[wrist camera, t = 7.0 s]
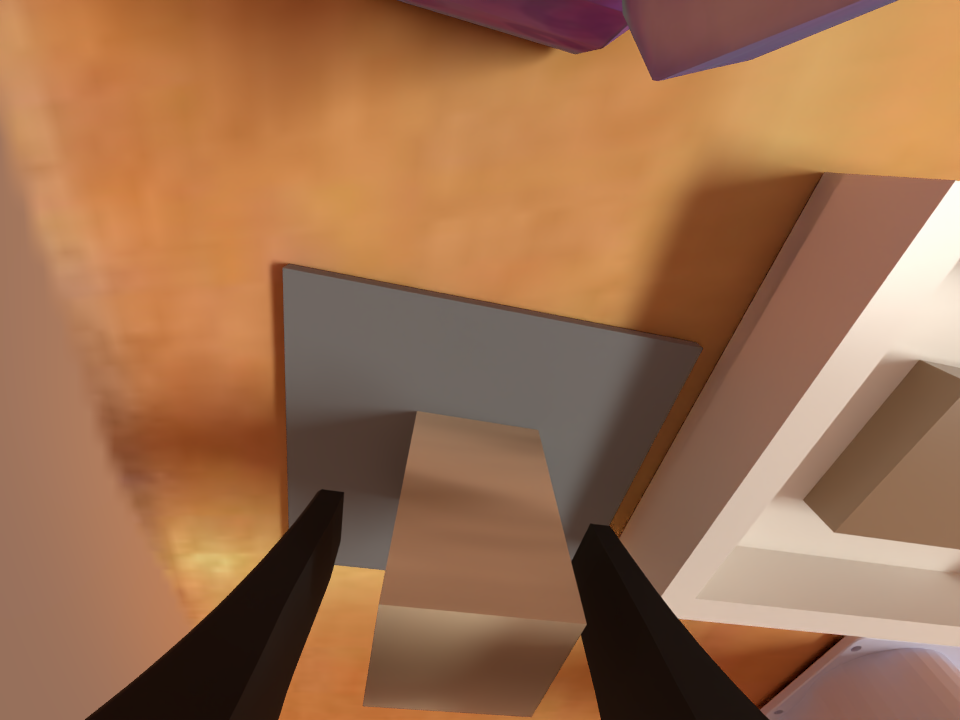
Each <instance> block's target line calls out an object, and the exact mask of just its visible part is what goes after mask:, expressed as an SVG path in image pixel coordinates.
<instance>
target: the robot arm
mask: <svg viewBox="0 0 960 720" xmlns="http://www.w3.org/2000/svg"><path fill="white" fill-rule="evenodd" d="M343 503H344V492H340V491H332V490H324V489H321V490H319V491H318V492H317V493H316V494H315V496H314V497H313V499H312V500H311V501H310V503H309V504H308V505H307V507H306V508H305V509H304V511H303V512H302V513H301V515H300V516H299V517H298V518H297V520H296V521H295V522H294V523H293V525H292V526H291V527H290V528H289V529H288V531H287V532H286V533H285V534H284V535H283V537H282V538H281V539H280V540H279V541H278V542H277V543H276V545H275V546H274V547H273V548H272V549H271V550H270V551H269V553H268V554H267V555H266V556H265V557H264V558H263V559H262V560H261V562H260V563H259V564H258V565H257V566H256V567H255V568H254V569H253V570H252V571H251V572H250V573H249V574H248V575H247V576H246V577H245V578H244V579H243V581H242V582H241V583H240V584H239V585H238V586H237V587H236V588H235V589H234V590H233V591H232V592H231V593H230V594H229V595H228V596H227V597H226V598H225V599H224V600H223V601H222V602H221V603H220V604H219V605H218V606H217V607H216V608H215V609H214V610H213V611H212V612H211V613H210V614H209V615H207V616H206V617H205V618H204V619H203V620H202V621H201V622H200V623H199V624H198V625H197V626H196V627H195V628H193V629H192V630H191V631H190V632H189V633H188V634H187V635H186V636H185V637H184V638H182V639H181V640H180V641H179V642H178V643H177V644H176V645H175V646H173V647H172V648H171V649H170V650H169V651H168V652H167V653H166V654H164V655H163V656H162V657H161V658H160V659H159V660H158V661H156V662H155V663H154V664H153V665H152V666H150V667H149V668H148V669H147V670H146V671H145V672H143V673H142V674H141V675H140V676H139V677H138V678H136V679H135V680H134V681H133V682H131V683H130V684H129V685H128V686H127V687H125V688H124V689H123V690H121V691H120V692H119V693H118V694H117V695H115V696H114V697H113V698H111V699H110V700H109V701H108V702H106V703H105V704H104V705H103V706H102V707H100V708H99V709H98V710H97V711H95V712H94V713H93V714H91V715H90V716H89V717H88V718H86V719H85V720H278V719H279V716H280V713H281V709H282V706H283V703H284V700H285V696H286V693H287V690H288V688H289V685H290V682H291V679H292V676H293V673H294V671H295V668H296V666H297V663H298V660H299V658H300V655H301V653H302V650H303V648H304V645H305V643H306V640H307V637H308V635H309V632H310V630H311V627H312V625H313V622H314V619H315V617H316V614H317V612H318V609H319V607H320V604H321V601H322V599H323V596H324V594H325V591H326V589H327V586H328V583H329V581H330V578H331V574H332V571H333V567H334V564H335V560H336V557H337V553H338V549H339V546H340V542H341V532H342V518H343ZM571 563H572V567H573V571H574V575H575V579H576V583H577V587H578V591H579V595H580V599H581V603H582V607H583V611H584V615H585V619H586V623H587V625H586V627H585V628H584V630H583V632H582V633H581V637H582V641H583V645H584V649H585V653H586V657H587V661H588V665H589V669H590V673H591V677H592V681H593V685H594V690H595V694H596V698H597V703H598V708H599V712H600V717H601V720H960V647H958V646H948V645H938V644H928V643H918V642H908V641H898V640H888V639H877V638H867V637H857V636H847V635H846V636H845V637H844V638H842V639H841V640H840V641H839V642H838V643H837V644H835V645H834V646H833V647H832V648H831V649H830V650H829V651H827V652H826V653H825V654H824V655H823V656H822V657H820V658H819V659H818V660H817V661H816V662H815V663H813V664H812V665H811V666H810V667H809V668H808V669H806V670H805V671H804V672H803V673H802V674H801V675H799V676H798V677H797V678H796V679H795V680H794V681H792V682H791V683H790V684H789V685H788V686H787V687H786V688H784V689H783V690H782V691H781V692H780V693H779V694H777V695H776V696H775V697H774V698H773V699H772V700H770V701H769V702H768V703H767V704H766V705H765V706H763V707H762V708H761V709H760V710H759V709H758V708H757V707H756V706H755V705H754V704H753V703H752V702H751V701H750V700H749V699H748V698H747V697H746V695H745V694H744V693H743V692H742V691H741V690H740V689H739V688H738V687H737V686H736V685H735V684H734V683H733V682H732V681H731V680H730V678H729V677H728V676H727V675H726V674H725V673H724V672H723V671H722V670H721V668H720V667H719V666H718V665H717V664H716V663H715V662H714V661H713V660H712V659H711V657H710V656H709V655H708V654H707V653H706V652H705V651H704V649H703V648H702V647H701V646H700V645H699V644H698V642H697V641H696V640H695V639H694V637H693V636H692V635H691V634H690V633H689V631H688V630H687V629H686V628H685V626H684V625H683V624H682V623H681V622H680V620H679V619H678V618H677V617H676V615H675V614H674V613H673V612H672V610H671V609H670V608H669V606H668V605H667V604H666V603H665V601H664V600H663V599H662V597H661V596H660V595H659V593H658V592H657V591H656V589H655V588H654V587H653V585H652V584H651V583H650V581H649V580H648V579H647V577H646V576H645V574H644V573H643V572H642V570H641V569H640V568H639V566H638V565H637V563H636V562H635V561H634V559H633V558H632V556H631V555H630V554H629V552H628V551H627V549H626V548H625V547H624V545H623V544H622V542H621V541H620V540H619V538H618V537H617V535H616V534H615V533H614V531H613V530H612V529H611V527H610V526H606V525H599V524H591V523H590V525H589V527H588V529H587V531H586V533H585V535H584V537H583V539H582V541H581V543H580V545H579V547H578V549H577V551H576V553H575V555H574V557H573V559H572V561H571Z"/></svg>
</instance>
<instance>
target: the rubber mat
mask: <svg viewBox="0 0 960 720" xmlns="http://www.w3.org/2000/svg"><path fill="white" fill-rule="evenodd" d="M283 304H284V346H285V389H286V431H287V474H288V516H289V528H290V527H291V526H292V525H293V523H294V522H295V521H296V520H297V518H298V517H299V516H300V515H301V513H302V512H303V511H304V509H305V508H306V507H307V505H308V504H309V503H310V501H311V500H312V499H313V497H314V496H315V494H316V493H317V492H318V491H319V490H321V489H324V490H332V491H340V492H344V503H343V518H342V532H341V542H340V546H339V549H338V553H337V557H336V560H335V564H334V565H341V566H350V567H360V568H369V569H379V570H386V565H387V560H388V555H389V550H390V545H391V540H392V535H393V530H394V525H395V520H396V515H397V510H398V505H399V500H400V495H401V489H402V484H403V479H404V474H405V469H406V464H407V459H408V454H409V449H410V444H411V439H412V434H413V429H414V424H415V419H416V414H417V411H421V412H427V413H433V414H440V415H446V416H452V417H459V418H465V419H471V420H478V421H484V422H490V423H497V424H503V425H510V426H516V427H522V428H529V429H535V430H538V431H539V435H540V439H541V443H542V447H543V451H544V455H545V459H546V463H547V467H548V471H549V475H550V479H551V483H552V487H553V491H554V495H555V499H556V503H557V507H558V511H559V515H560V519H561V523H562V527H563V531H564V535H565V539H566V543H567V547H568V551H569V555H570V559H571V561H572V559H573V557H574V555H575V553H576V551H577V549H578V547H579V545H580V543H581V541H582V539H583V537H584V535H585V533H586V531H587V529H588V527H589V525H590V523H591V524H599V525H606V526H609V525H610V523H611V521H612V519H613V517H614V515H615V513H616V511H617V510H618V508H619V506H620V504H621V502H622V500H623V498H624V496H625V495H626V493H627V491H628V489H629V487H630V485H631V483H632V481H633V479H634V478H635V476H636V474H637V472H638V470H639V468H640V466H641V464H642V462H643V461H644V459H645V457H646V455H647V453H648V451H649V449H650V447H651V446H652V444H653V442H654V440H655V438H656V436H657V434H658V432H659V430H660V429H661V427H662V425H663V423H664V421H665V419H666V417H667V415H668V413H669V412H670V410H671V408H672V406H673V404H674V402H675V400H676V398H677V397H678V395H679V393H680V391H681V389H682V387H683V385H684V383H685V381H686V380H687V378H688V376H689V374H690V372H691V370H692V368H693V366H694V364H695V363H696V361H697V359H698V357H699V355H700V353H701V351H702V349H703V348H702V347H701V346H700V345H699V344H698V343H696V342H692V341H686V340H681V339H676V338H671V337H666V336H660V335H655V334H650V333H645V332H640V331H635V330H629V329H624V328H619V327H614V326H609V325H603V324H598V323H593V322H588V321H583V320H578V319H572V318H567V317H562V316H557V315H552V314H546V313H541V312H536V311H531V310H526V309H520V308H515V307H510V306H505V305H500V304H495V303H489V302H484V301H479V300H474V299H469V298H463V297H458V296H453V295H448V294H443V293H438V292H432V291H427V290H422V289H417V288H412V287H406V286H401V285H396V284H391V283H386V282H381V281H375V280H370V279H365V278H360V277H355V276H349V275H344V274H339V273H334V272H329V271H324V270H318V269H313V268H308V267H303V266H298V265H292V264H288V265H286V266H285V267H283Z"/></svg>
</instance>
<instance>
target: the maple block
mask: <svg viewBox="0 0 960 720" xmlns="http://www.w3.org/2000/svg"><path fill="white" fill-rule="evenodd" d="M586 625H587V623H586V619H585V615H584V611H583V607H582V603H581V599H580V595H579V591H578V587H577V583H576V579H575V575H574V571H573V567H572V563H571V559H570V555H569V551H568V547H567V543H566V539H565V535H564V531H563V527H562V523H561V519H560V515H559V511H558V507H557V503H556V499H555V495H554V491H553V487H552V483H551V479H550V475H549V471H548V467H547V463H546V459H545V455H544V451H543V447H542V443H541V439H540V435H539V431H538V430H535V429H529V428H522V427H516V426H510V425H503V424H497V423H490V422H484V421H478V420H471V419H465V418H459V417H452V416H446V415H440V414H433V413H427V412H421V411H417V414H416V419H415V424H414V429H413V434H412V439H411V444H410V449H409V454H408V459H407V464H406V469H405V474H404V479H403V484H402V489H401V495H400V500H399V505H398V510H397V515H396V520H395V525H394V530H393V535H392V540H391V545H390V550H389V555H388V560H387V565H386V570H385V575H384V581H383V586H382V591H381V596H380V601H379V606H378V613H377V619H376V625H375V632H374V638H373V644H372V651H371V657H370V663H369V670H368V676H367V682H366V689H365V695H364V702H363V706H368V707H383V708H399V709H414V710H429V711H445V712H460V713H476V714H491V715H507V716H522V717H532V715H533V714H534V712H535V710H536V708H537V707H538V705H539V703H540V702H541V700H542V698H543V697H544V695H545V693H546V692H547V690H548V688H549V687H550V685H551V683H552V682H553V680H554V678H555V677H556V675H557V673H558V672H559V670H560V668H561V667H562V665H563V663H564V662H565V660H566V658H567V657H568V655H569V653H570V652H571V650H572V648H573V647H574V645H575V643H576V642H577V640H578V638H579V637H580V635H581V633H582V632H583V630H584V628H585V627H586Z"/></svg>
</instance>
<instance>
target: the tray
mask: <svg viewBox="0 0 960 720" xmlns="http://www.w3.org/2000/svg"><path fill="white" fill-rule="evenodd" d="M619 540H620V541H621V542H622V544H623V545H624V547H625V548H626V549H627V551H628V552H629V554H630V555H631V556H632V558H633V559H634V561H635V562H636V563H637V565H638V566H639V568H640V569H641V570H642V572H643V573H644V574H645V576H646V577H647V579H648V580H649V581H650V583H651V584H652V585H653V587H654V588H655V589H656V591H657V592H658V593H659V595H660V596H661V597H662V599H663V600H664V601H665V603H666V604H667V605H668V606H669V608H670V609H671V610H672V612H673V613H674V614H675V615H676V617H677V618H678V619H687V620H697V621H707V622H717V623H727V624H737V625H747V626H757V627H767V628H777V629H787V630H797V631H807V632H817V633H827V634H837V635H847V636H857V637H867V638H877V639H888V640H898V641H908V642H918V643H928V644H938V645H948V646H958V647H960V181H956V180H941V179H924V178H908V177H892V176H875V175H859V174H843V173H826V172H824V174H823V176H822V177H821V179H820V181H819V183H818V185H817V186H816V188H815V190H814V192H813V193H812V195H811V197H810V199H809V201H808V202H807V204H806V206H805V208H804V209H803V211H802V213H801V215H800V217H799V218H798V220H797V222H796V224H795V226H794V227H793V229H792V231H791V233H790V234H789V236H788V238H787V240H786V242H785V243H784V245H783V247H782V249H781V251H780V252H779V254H778V256H777V258H776V259H775V261H774V263H773V265H772V267H771V268H770V270H769V272H768V274H767V275H766V277H765V279H764V281H763V283H762V284H761V286H760V288H759V290H758V292H757V293H756V295H755V297H754V299H753V300H752V302H751V304H750V306H749V308H748V309H747V311H746V313H745V315H744V317H743V318H742V320H741V322H740V324H739V325H738V327H737V329H736V331H735V333H734V334H733V336H732V338H731V340H730V341H729V343H728V345H727V347H726V349H725V350H724V352H723V354H722V356H721V358H720V359H719V361H718V363H717V365H716V366H715V368H714V370H713V372H712V374H711V375H710V377H709V379H708V381H707V383H706V384H705V386H704V388H703V390H702V391H701V393H700V395H699V397H698V399H697V400H696V402H695V404H694V406H693V407H692V409H691V411H690V413H689V415H688V416H687V418H686V420H685V422H684V424H683V425H682V427H681V429H680V431H679V432H678V434H677V436H676V438H675V440H674V441H673V443H672V445H671V447H670V449H669V450H668V452H667V454H666V456H665V457H664V459H663V461H662V463H661V465H660V466H659V468H658V470H657V472H656V473H655V475H654V477H653V479H652V481H651V482H650V484H649V486H648V488H647V490H646V491H645V493H644V495H643V497H642V498H641V500H640V502H639V504H638V506H637V507H636V509H635V511H634V513H633V515H632V516H631V518H630V520H629V522H628V523H627V525H626V527H625V529H624V531H623V532H622V534H621V536H620V538H619Z"/></svg>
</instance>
